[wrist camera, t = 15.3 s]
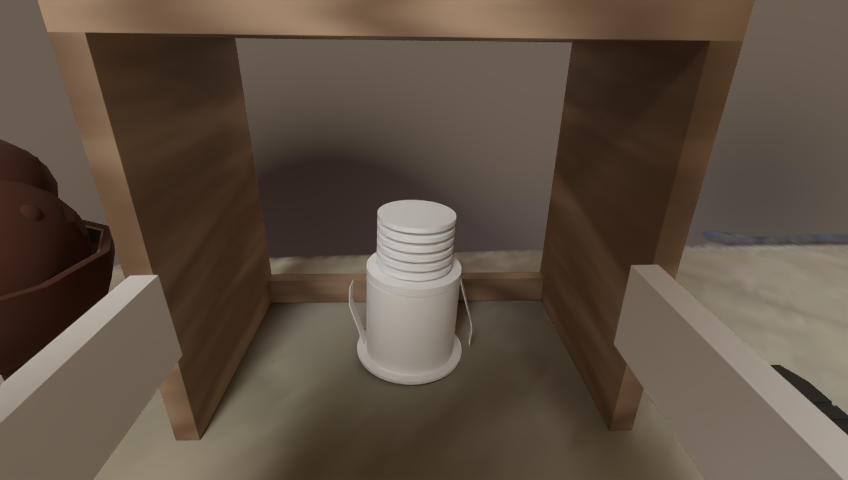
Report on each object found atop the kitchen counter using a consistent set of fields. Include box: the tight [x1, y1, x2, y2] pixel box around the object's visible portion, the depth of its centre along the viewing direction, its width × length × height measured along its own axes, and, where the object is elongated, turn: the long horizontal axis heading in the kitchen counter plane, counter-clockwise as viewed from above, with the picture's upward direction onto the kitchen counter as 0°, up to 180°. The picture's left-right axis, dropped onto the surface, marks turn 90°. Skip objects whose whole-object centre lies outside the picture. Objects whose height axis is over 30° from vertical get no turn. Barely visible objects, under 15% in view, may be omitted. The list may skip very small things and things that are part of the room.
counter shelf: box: [38, 0, 755, 440], centre depth 25 cm, size 24×14×22 cm, turn 92°
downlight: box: [349, 200, 473, 385], centre depth 27 cm, size 8×7×10 cm
